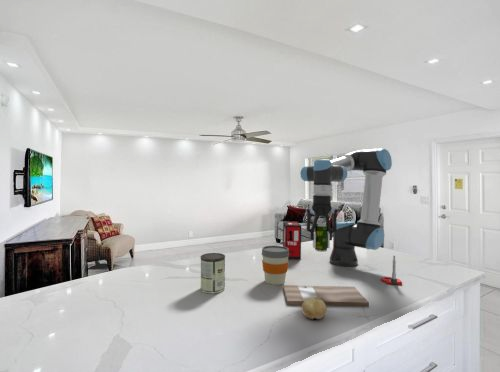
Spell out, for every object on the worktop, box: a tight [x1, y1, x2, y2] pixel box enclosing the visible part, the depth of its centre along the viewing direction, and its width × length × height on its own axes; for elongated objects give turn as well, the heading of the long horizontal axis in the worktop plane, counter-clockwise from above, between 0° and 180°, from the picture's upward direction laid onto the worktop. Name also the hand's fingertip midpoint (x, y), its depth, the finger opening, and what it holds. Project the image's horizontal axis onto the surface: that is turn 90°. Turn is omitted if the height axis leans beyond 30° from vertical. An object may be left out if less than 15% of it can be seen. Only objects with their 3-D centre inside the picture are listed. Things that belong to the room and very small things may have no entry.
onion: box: [301, 294, 327, 321], centre depth 98 cm, size 8×8×7 cm
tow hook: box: [380, 255, 403, 286], centre depth 135 cm, size 8×13×9 cm
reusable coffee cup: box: [261, 245, 289, 286], centre depth 132 cm, size 13×13×15 cm
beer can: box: [314, 221, 329, 253], centre depth 128 cm, size 5×5×12 cm
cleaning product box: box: [282, 220, 302, 261], centre depth 178 cm, size 16×9×20 cm, turn 179°
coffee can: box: [200, 252, 226, 294], centre depth 122 cm, size 10×10×14 cm
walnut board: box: [282, 284, 370, 307], centre depth 115 cm, size 16×30×2 cm, turn 89°
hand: (321, 247), depth 128 cm, fingers closed on beer can, 5 cm apart
